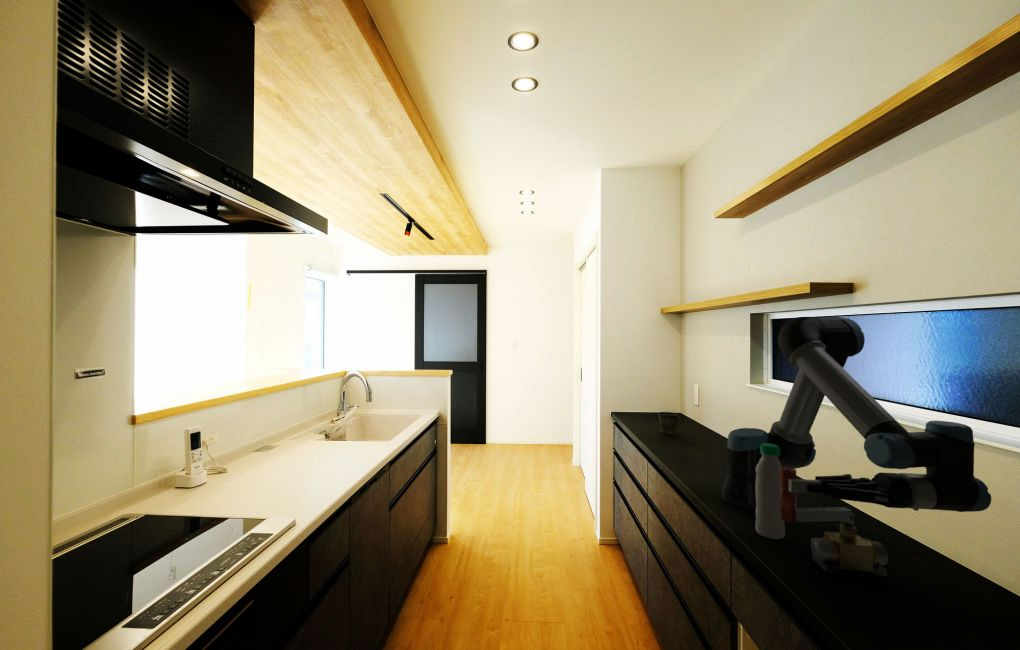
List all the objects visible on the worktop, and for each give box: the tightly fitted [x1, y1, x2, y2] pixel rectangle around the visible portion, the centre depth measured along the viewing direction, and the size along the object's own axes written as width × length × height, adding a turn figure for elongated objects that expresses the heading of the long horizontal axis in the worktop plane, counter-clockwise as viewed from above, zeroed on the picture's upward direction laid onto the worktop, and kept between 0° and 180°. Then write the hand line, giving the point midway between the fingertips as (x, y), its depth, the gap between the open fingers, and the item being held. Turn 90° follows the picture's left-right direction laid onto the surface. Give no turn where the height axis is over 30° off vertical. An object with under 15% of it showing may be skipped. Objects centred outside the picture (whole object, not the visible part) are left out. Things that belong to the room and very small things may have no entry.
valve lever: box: [780, 467, 855, 528], centre depth 102 cm, size 18×3×14 cm, turn 93°
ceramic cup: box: [657, 411, 683, 434], centre depth 232 cm, size 13×10×10 cm
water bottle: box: [754, 443, 786, 540], centre depth 119 cm, size 7×7×25 cm
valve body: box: [810, 522, 889, 578], centre depth 102 cm, size 14×6×10 cm, turn 82°
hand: (789, 485), depth 99 cm, fingers closed
